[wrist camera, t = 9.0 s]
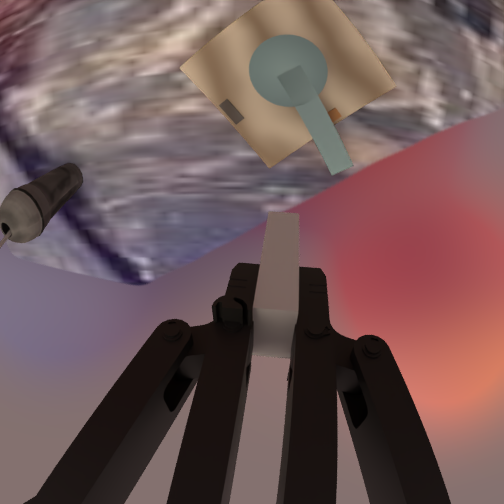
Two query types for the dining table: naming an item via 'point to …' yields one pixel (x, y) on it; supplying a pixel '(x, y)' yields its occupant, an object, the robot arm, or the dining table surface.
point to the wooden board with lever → (271, 115)
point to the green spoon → (299, 90)
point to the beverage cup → (37, 203)
